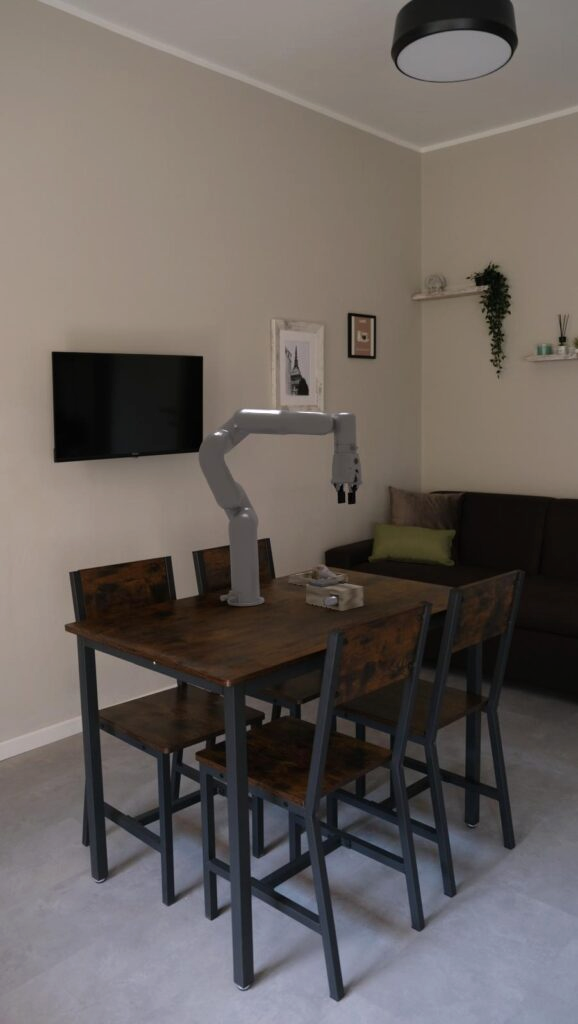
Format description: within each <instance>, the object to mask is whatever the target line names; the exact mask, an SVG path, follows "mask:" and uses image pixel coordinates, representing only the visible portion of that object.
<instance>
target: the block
mask: <svg viewBox="0 0 578 1024" xmlns="http://www.w3.org/2000/svg"><path fill="white" fill-rule="evenodd" d="M326 578H328V577H324V579H326ZM336 595H339V604H336V605H332V606H327V608H326V607H325V606H324V605H323V599H324V598H328V597H332V596H336ZM305 600H306V601H305V602H306V604H307V603H308V605H312V604H313V605H312V606H316V605H317V607H321V606H322V608H326V609H330V608H331V610H336V611H340V612H344V611H347V610H352V609H356V608H359V607H363V606H364V586H362V585H357V584H353V583H352V584H351V583H347V582H346V583H345V580H342V581H341V583H340V584H335V585H329V586H324V587H320V586H315V585H310V584H306V587H305Z"/></svg>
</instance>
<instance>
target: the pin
mask: <svg viewBox="0 0 578 1024" xmlns="http://www.w3.org/2000/svg"><path fill="white" fill-rule="evenodd" d="M336 604H339V595H336V596H332V597H328V598H324V599H323V605H324V606H325V607H324V608H326V607H327V606H332V605H336Z"/></svg>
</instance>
